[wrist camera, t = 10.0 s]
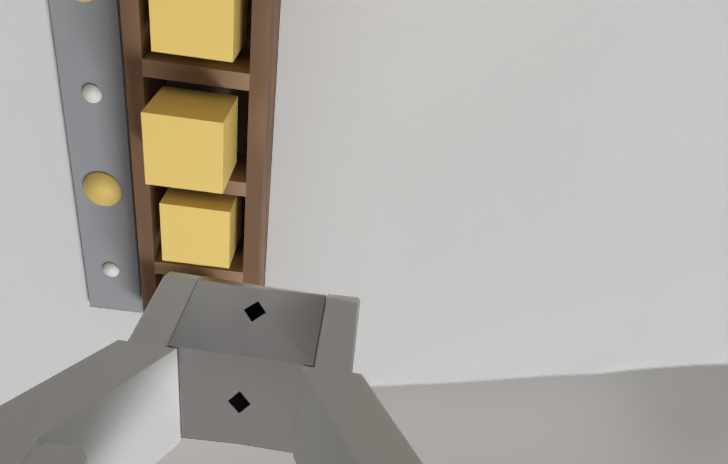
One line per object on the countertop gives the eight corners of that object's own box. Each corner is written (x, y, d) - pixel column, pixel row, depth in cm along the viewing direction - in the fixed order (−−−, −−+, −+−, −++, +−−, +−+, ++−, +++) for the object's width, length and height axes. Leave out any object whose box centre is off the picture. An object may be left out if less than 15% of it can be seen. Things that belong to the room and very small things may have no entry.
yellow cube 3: (242, 181, 43) (229, 212, 40) (240, 235, 45) (228, 268, 42) (176, 173, 43) (159, 203, 39) (178, 227, 45) (162, 260, 42)
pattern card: (112, -95, 35) (108, -95, 34) (143, 309, 50) (140, 313, 50) (37, -106, 35) (32, -105, 34) (92, 303, 50) (89, 308, 50)
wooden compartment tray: (284, -70, 35) (274, -58, 32) (262, 323, 51) (253, 359, 48) (139, -91, 35) (112, -82, 31) (162, 311, 51) (146, 346, 47)
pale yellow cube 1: (248, -38, 35) (234, -23, 32) (246, 41, 38) (232, 62, 34) (169, -49, 35) (146, -35, 32) (172, 30, 38) (151, 51, 34)
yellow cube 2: (238, 95, 37) (223, 123, 34) (236, 162, 40) (222, 193, 36) (162, 85, 37) (140, 112, 34) (166, 153, 40) (145, 184, 36)
